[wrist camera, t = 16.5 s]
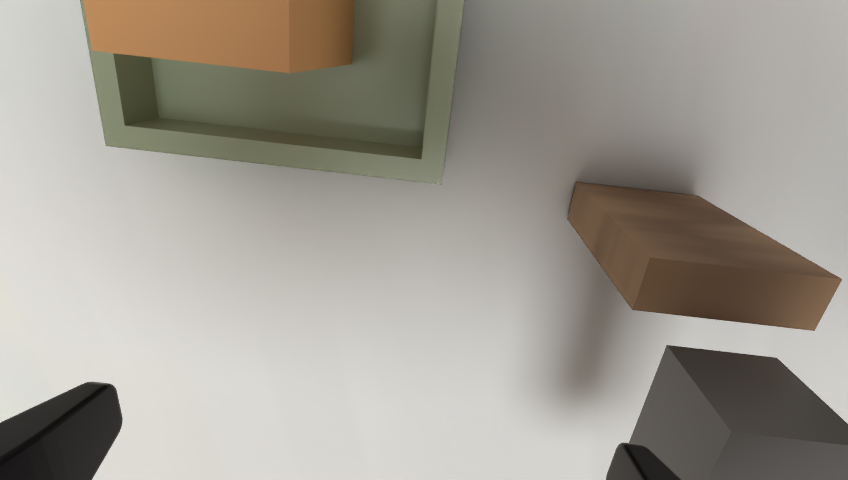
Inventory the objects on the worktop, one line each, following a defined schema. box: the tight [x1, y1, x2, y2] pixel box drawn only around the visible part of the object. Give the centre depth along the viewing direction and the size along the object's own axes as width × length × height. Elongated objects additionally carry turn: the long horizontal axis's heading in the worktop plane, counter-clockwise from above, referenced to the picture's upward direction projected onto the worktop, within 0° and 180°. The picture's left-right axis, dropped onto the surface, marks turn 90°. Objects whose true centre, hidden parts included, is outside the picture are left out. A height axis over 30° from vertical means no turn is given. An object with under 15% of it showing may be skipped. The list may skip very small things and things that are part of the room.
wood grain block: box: [567, 182, 842, 331], centre depth 15 cm, size 5×2×7 cm, turn 85°
